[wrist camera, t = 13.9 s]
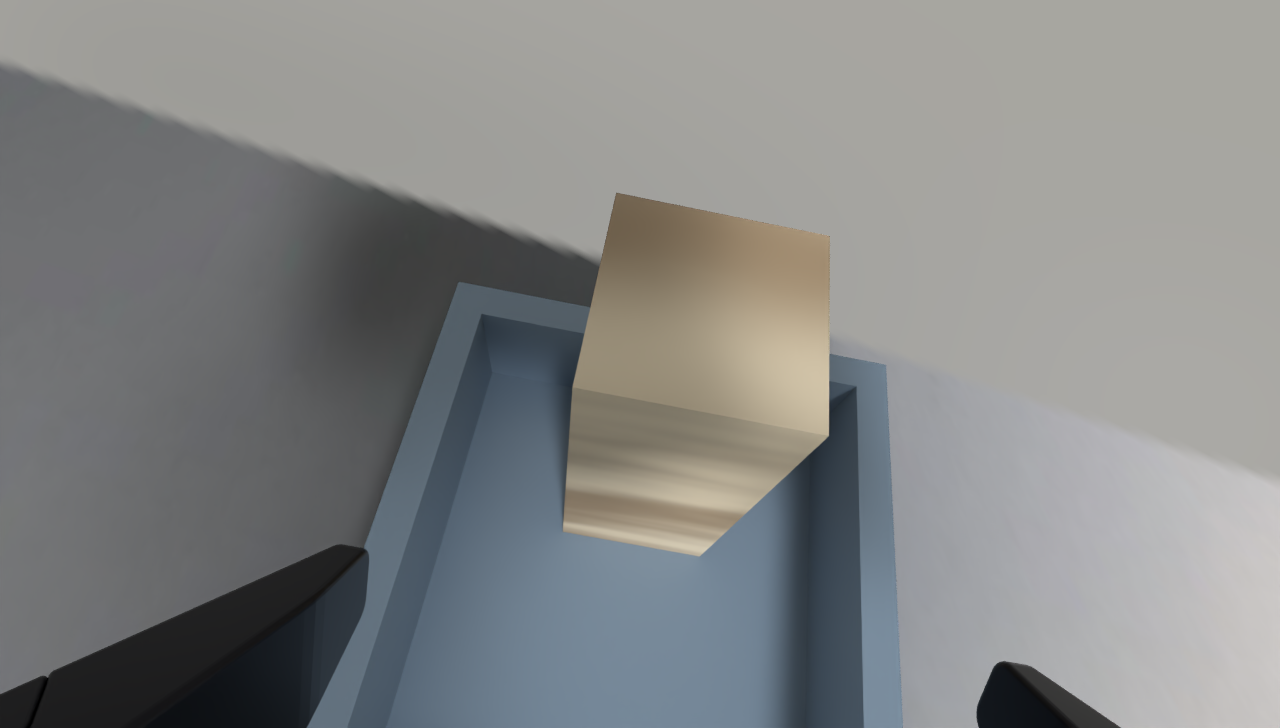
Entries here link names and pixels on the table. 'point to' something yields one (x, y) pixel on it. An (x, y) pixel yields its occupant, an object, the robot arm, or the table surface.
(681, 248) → the tall ash block
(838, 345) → the table surface
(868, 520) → the tote
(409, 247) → the table surface
